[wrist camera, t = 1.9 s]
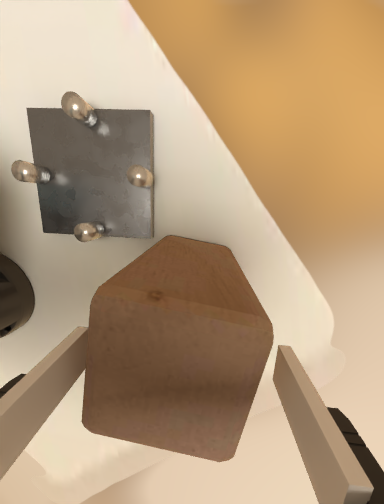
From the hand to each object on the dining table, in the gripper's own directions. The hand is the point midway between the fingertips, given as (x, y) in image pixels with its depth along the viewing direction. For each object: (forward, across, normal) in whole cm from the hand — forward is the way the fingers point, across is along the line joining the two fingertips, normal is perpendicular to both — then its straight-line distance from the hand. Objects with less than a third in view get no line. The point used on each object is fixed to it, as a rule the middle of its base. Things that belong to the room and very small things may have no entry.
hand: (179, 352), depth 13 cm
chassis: (+17, -14, +13) cm, 26 cm away
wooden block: (+17, 0, 0) cm, 17 cm away
